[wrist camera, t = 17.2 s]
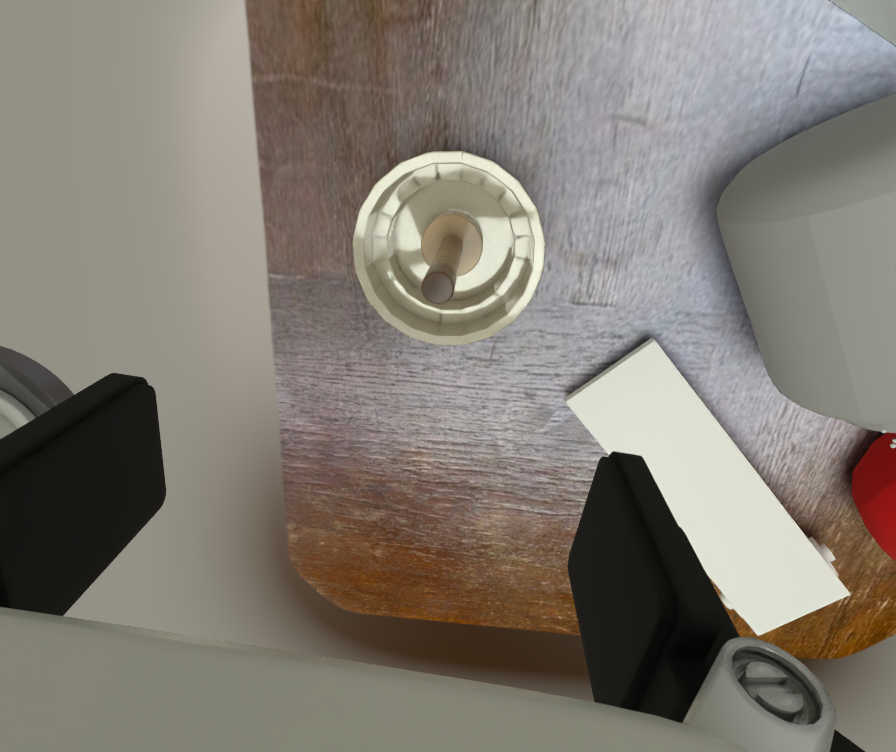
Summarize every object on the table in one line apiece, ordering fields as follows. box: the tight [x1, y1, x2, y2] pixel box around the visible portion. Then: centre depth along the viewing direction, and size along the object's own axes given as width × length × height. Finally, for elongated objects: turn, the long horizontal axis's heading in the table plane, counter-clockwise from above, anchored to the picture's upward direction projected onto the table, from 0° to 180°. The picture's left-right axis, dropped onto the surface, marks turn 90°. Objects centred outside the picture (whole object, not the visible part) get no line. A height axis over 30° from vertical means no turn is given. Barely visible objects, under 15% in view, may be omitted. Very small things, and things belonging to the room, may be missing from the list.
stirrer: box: [421, 211, 483, 304], centre depth 31 cm, size 4×4×14 cm
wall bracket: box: [565, 338, 851, 636], centre depth 44 cm, size 10×7×28 cm
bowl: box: [353, 151, 545, 345], centre depth 35 cm, size 12×12×6 cm
